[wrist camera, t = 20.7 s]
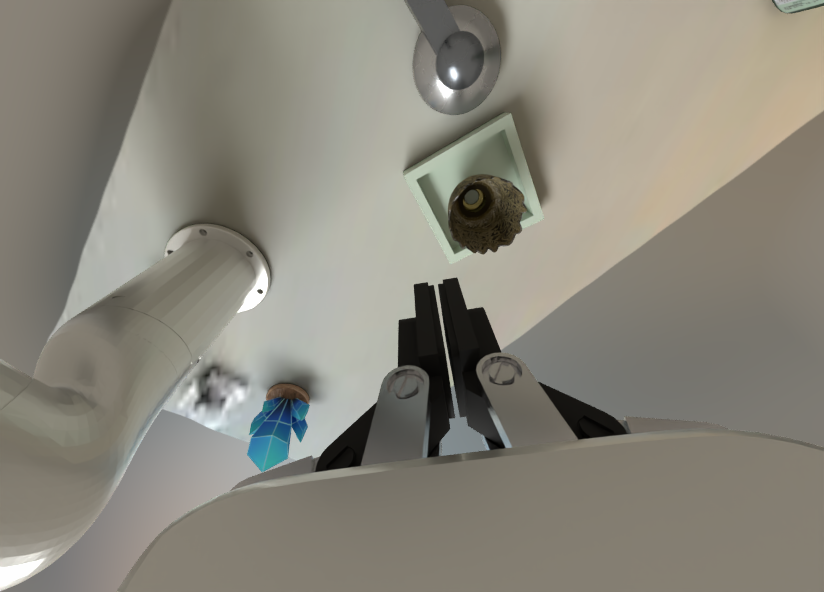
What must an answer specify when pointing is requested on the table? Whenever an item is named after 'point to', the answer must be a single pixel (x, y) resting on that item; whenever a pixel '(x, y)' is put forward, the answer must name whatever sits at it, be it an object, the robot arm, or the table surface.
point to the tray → (470, 155)
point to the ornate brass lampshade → (485, 213)
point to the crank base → (480, 89)
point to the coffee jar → (797, 5)
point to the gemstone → (278, 425)
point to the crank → (448, 44)
